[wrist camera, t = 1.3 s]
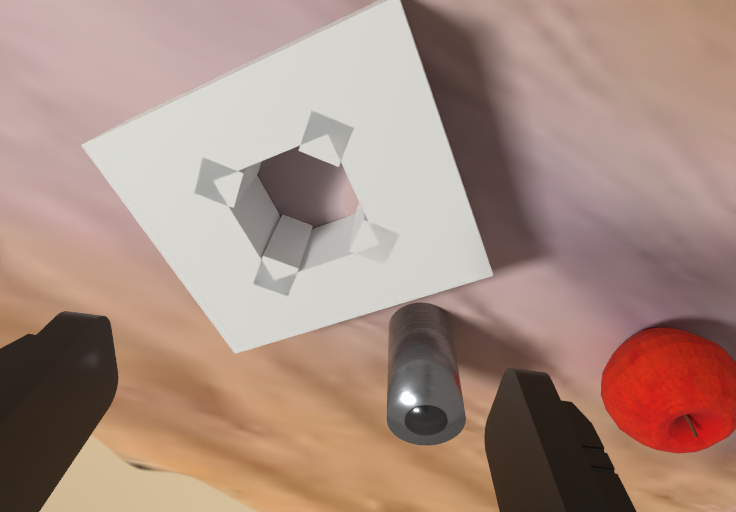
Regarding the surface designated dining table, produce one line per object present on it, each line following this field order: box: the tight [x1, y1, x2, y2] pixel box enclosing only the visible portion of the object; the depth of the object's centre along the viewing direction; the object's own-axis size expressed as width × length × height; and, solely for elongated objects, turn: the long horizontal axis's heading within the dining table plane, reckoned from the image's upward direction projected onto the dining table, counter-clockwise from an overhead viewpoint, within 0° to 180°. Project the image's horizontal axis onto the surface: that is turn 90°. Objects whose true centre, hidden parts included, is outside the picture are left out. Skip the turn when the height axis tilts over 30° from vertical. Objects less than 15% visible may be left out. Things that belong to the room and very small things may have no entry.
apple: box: [601, 327, 736, 453], centre depth 30 cm, size 8×8×7 cm
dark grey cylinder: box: [387, 303, 466, 445], centre depth 30 cm, size 4×4×8 cm
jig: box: [82, 0, 493, 354], centre depth 26 cm, size 16×14×5 cm
